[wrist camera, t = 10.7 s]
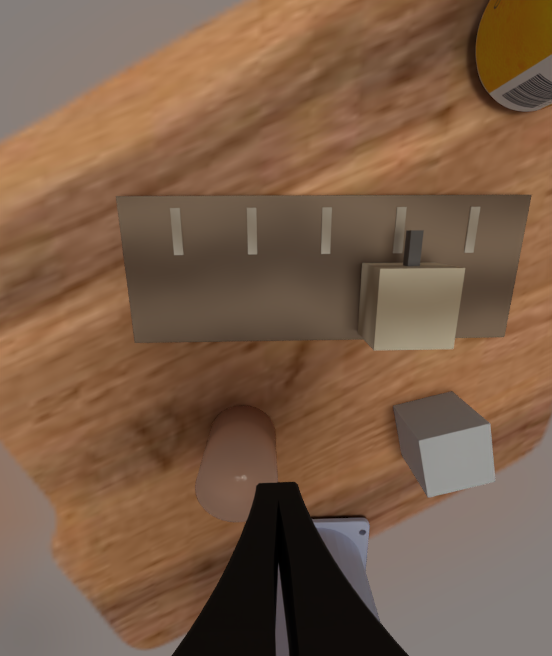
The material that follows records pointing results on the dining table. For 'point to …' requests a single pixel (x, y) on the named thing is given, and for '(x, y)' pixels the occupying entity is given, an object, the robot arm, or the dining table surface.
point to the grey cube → (445, 443)
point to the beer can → (516, 53)
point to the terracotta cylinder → (236, 462)
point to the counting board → (305, 261)
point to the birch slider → (410, 301)
